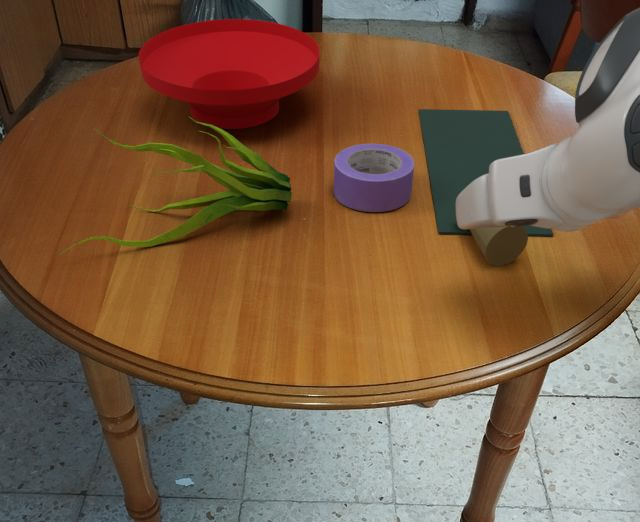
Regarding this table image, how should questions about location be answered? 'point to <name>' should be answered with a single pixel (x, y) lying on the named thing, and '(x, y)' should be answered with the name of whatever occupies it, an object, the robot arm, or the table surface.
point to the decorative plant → (244, 185)
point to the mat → (465, 157)
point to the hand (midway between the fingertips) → (520, 219)
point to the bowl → (230, 68)
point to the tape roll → (373, 177)
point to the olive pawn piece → (501, 243)
